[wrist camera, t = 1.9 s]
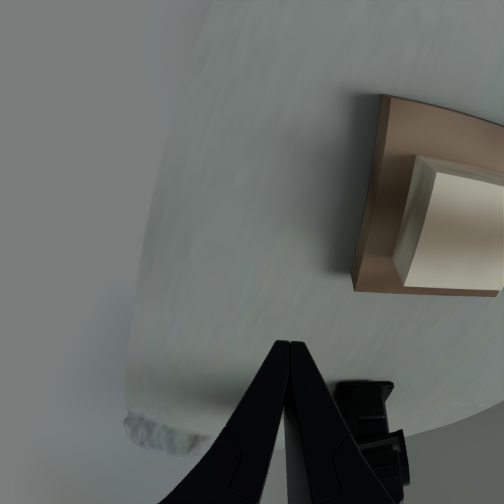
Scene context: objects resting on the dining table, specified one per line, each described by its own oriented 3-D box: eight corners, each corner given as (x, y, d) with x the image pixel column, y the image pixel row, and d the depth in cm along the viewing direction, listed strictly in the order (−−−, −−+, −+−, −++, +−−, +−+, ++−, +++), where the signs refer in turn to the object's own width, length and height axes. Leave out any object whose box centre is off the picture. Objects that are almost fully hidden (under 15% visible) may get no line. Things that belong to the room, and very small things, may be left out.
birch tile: (484, 264, 19) (501, 290, 17) (391, 257, 20) (403, 286, 17) (514, 177, 15) (539, 196, 13) (416, 154, 16) (436, 172, 14)
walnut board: (486, 281, 22) (496, 296, 21) (350, 274, 23) (354, 291, 22) (534, 137, 15) (550, 146, 14) (381, 93, 16) (391, 97, 15)
